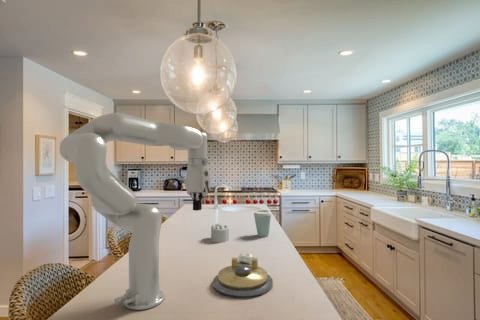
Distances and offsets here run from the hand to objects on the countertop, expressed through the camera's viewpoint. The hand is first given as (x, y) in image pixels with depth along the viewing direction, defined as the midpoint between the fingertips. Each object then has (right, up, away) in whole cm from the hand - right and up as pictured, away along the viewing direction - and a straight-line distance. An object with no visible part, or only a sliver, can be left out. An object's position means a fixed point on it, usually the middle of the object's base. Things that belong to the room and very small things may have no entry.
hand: (197, 209), depth 115 cm
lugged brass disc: (+18, -25, -7) cm, 31 cm away
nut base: (+18, -26, -7) cm, 33 cm away
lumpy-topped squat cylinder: (+5, -27, +55) cm, 61 cm away
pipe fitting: (+21, -27, +16) cm, 38 cm away
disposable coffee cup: (+31, -27, +63) cm, 75 cm away
